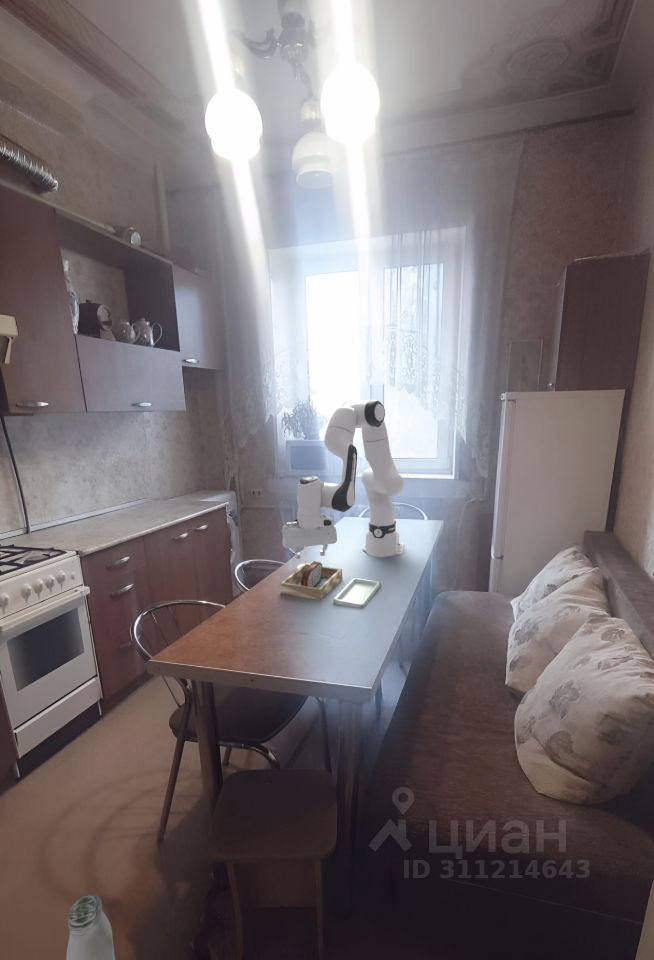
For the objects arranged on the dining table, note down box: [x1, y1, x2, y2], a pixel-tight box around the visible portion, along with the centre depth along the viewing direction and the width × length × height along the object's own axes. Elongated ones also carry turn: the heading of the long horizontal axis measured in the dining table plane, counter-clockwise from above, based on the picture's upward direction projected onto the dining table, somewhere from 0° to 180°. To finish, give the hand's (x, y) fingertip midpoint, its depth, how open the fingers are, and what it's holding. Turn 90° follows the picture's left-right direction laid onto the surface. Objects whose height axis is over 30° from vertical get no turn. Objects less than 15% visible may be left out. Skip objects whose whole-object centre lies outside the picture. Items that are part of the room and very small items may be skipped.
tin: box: [300, 560, 323, 588], centre depth 164 cm, size 15×3×8 cm, turn 158°
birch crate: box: [279, 563, 343, 601], centre depth 164 cm, size 20×16×4 cm
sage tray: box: [332, 577, 382, 609], centre depth 155 cm, size 20×11×2 cm, turn 156°
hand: (310, 556), depth 162 cm, fingers open, 8 cm apart
